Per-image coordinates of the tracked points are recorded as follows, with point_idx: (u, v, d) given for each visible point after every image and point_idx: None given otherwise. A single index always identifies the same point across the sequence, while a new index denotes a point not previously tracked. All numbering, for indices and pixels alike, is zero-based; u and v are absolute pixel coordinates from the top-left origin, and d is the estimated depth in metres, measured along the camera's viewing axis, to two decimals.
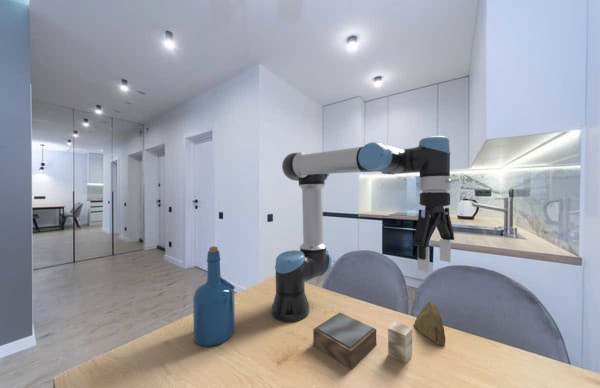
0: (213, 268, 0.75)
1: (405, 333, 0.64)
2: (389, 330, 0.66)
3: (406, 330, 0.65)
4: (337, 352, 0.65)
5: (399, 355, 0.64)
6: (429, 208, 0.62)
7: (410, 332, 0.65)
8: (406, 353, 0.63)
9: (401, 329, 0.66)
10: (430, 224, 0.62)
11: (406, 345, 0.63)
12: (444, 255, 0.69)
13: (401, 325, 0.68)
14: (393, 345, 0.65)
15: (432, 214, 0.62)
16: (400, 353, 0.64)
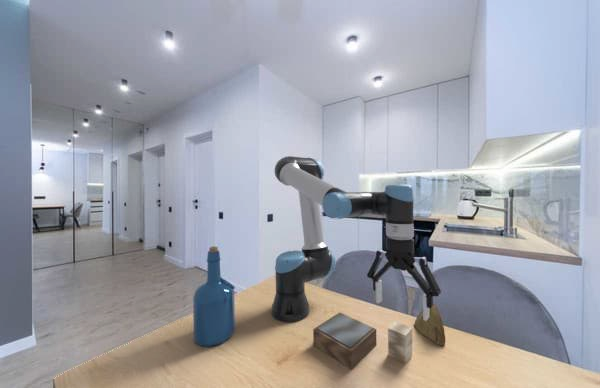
0: (213, 268, 0.75)
1: (405, 333, 0.64)
2: (389, 330, 0.66)
3: (406, 330, 0.65)
4: (337, 352, 0.65)
5: (399, 355, 0.64)
6: None
7: (410, 332, 0.65)
8: (406, 353, 0.63)
9: (401, 329, 0.66)
10: (385, 265, 0.69)
11: (406, 345, 0.63)
12: None
13: (401, 325, 0.68)
14: (393, 345, 0.65)
15: (386, 256, 0.68)
16: (400, 352, 0.64)
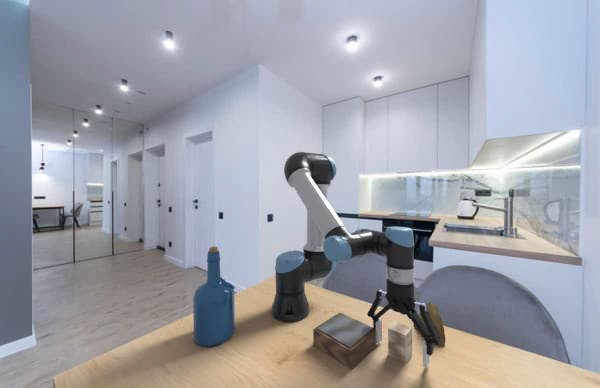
0: (213, 268, 0.75)
1: (405, 333, 0.64)
2: (389, 330, 0.66)
3: (406, 330, 0.65)
4: (337, 352, 0.65)
5: (399, 355, 0.64)
6: None
7: (410, 332, 0.65)
8: (406, 353, 0.63)
9: (401, 329, 0.66)
10: (385, 306, 0.69)
11: (406, 345, 0.63)
12: None
13: (401, 325, 0.68)
14: (393, 345, 0.65)
15: (386, 298, 0.68)
16: (400, 352, 0.64)
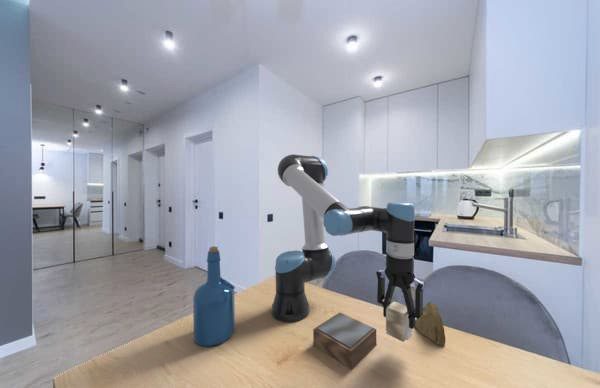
0: (213, 268, 0.75)
1: (404, 312, 0.64)
2: (388, 309, 0.66)
3: (405, 309, 0.66)
4: (337, 352, 0.65)
5: (397, 333, 0.65)
6: None
7: None
8: (404, 331, 0.64)
9: (399, 308, 0.66)
10: None
11: (404, 323, 0.64)
12: None
13: (400, 305, 0.68)
14: (391, 324, 0.66)
15: (386, 274, 0.68)
16: (398, 331, 0.64)
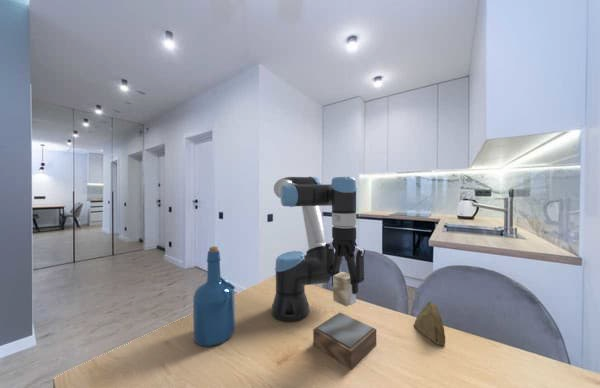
0: (213, 268, 0.75)
1: (347, 278, 0.68)
2: (334, 277, 0.71)
3: (349, 276, 0.70)
4: (337, 352, 0.65)
5: (341, 299, 0.69)
6: None
7: None
8: (347, 296, 0.68)
9: (344, 276, 0.70)
10: None
11: (347, 289, 0.68)
12: None
13: (346, 274, 0.72)
14: (337, 291, 0.70)
15: (333, 245, 0.72)
16: (342, 297, 0.68)
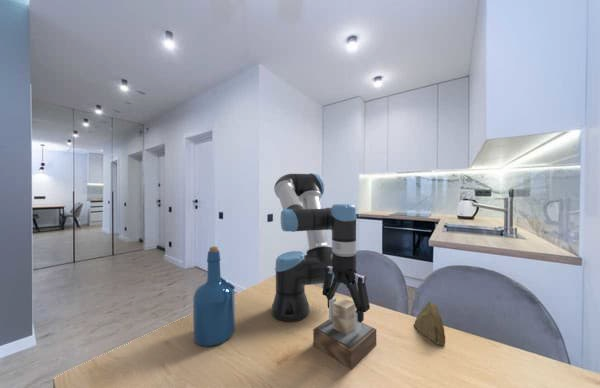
0: (213, 268, 0.75)
1: (347, 307, 0.68)
2: (334, 305, 0.71)
3: (349, 304, 0.70)
4: (337, 352, 0.65)
5: (341, 327, 0.69)
6: None
7: (353, 306, 0.70)
8: (347, 325, 0.68)
9: (344, 303, 0.70)
10: None
11: (347, 317, 0.68)
12: None
13: (346, 300, 0.72)
14: (337, 319, 0.70)
15: (333, 271, 0.73)
16: (342, 325, 0.68)
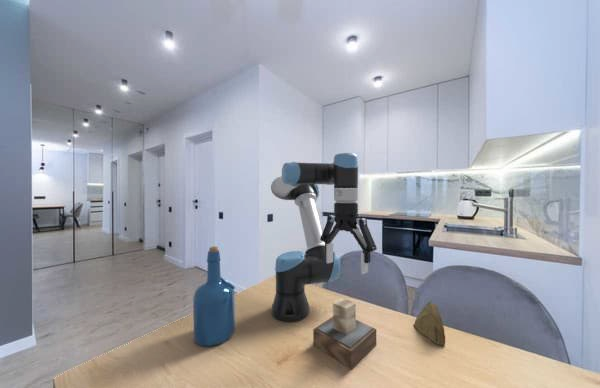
0: (213, 268, 0.75)
1: (347, 307, 0.68)
2: (334, 305, 0.71)
3: (349, 304, 0.70)
4: (337, 352, 0.65)
5: (341, 327, 0.69)
6: None
7: (353, 306, 0.70)
8: (347, 325, 0.68)
9: (344, 303, 0.70)
10: None
11: (347, 317, 0.68)
12: None
13: (346, 300, 0.72)
14: (337, 319, 0.70)
15: (335, 220, 0.75)
16: (342, 325, 0.68)
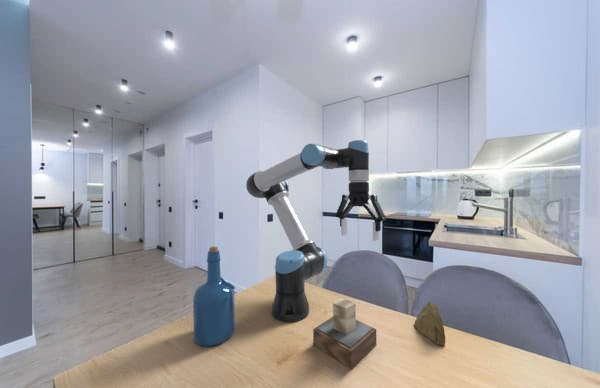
0: (213, 268, 0.75)
1: (347, 307, 0.68)
2: (334, 305, 0.71)
3: (349, 304, 0.70)
4: (337, 352, 0.65)
5: (341, 327, 0.69)
6: None
7: (353, 306, 0.70)
8: (347, 325, 0.68)
9: (344, 303, 0.70)
10: None
11: (347, 317, 0.68)
12: None
13: (346, 300, 0.72)
14: (337, 319, 0.70)
15: (349, 198, 0.88)
16: (342, 325, 0.68)
